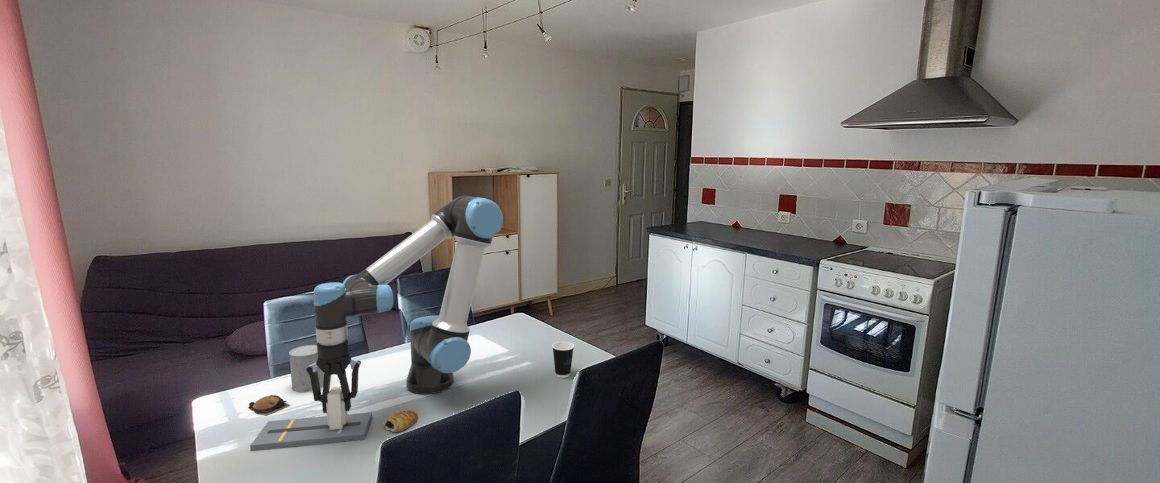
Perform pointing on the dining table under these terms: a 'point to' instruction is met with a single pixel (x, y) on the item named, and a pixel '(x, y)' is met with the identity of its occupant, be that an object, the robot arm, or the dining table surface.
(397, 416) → the pastry
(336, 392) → the fader tab
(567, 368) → the dixie cup
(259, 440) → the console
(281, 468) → the dining table surface
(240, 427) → the dining table surface
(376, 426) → the dining table surface
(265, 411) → the wood slice
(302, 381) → the grey concrete cylinder
